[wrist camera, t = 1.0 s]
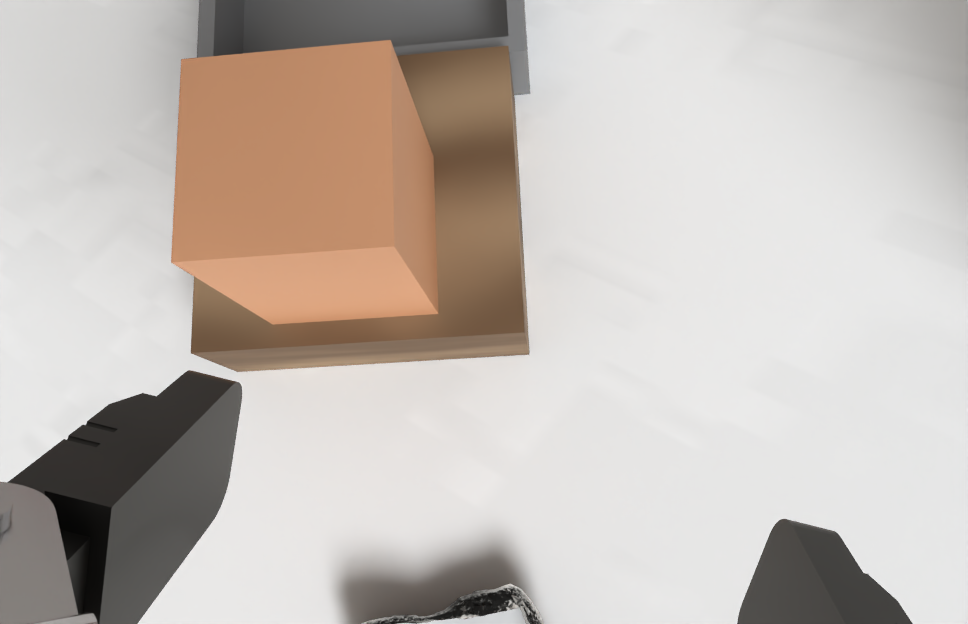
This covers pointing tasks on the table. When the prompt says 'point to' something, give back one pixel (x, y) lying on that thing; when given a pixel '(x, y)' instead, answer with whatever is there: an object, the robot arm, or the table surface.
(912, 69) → the table surface
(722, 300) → the table surface
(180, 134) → the terracotta block
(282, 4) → the box
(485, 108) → the square wooden plinth
